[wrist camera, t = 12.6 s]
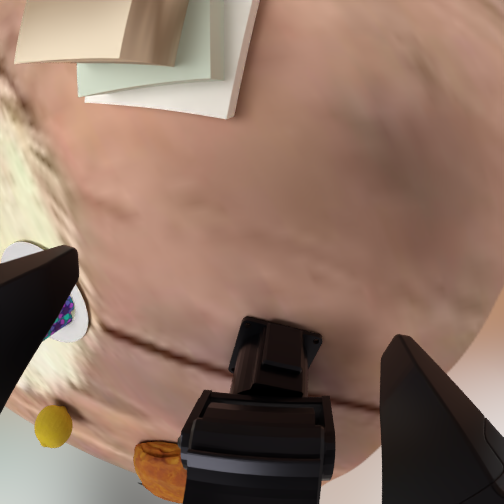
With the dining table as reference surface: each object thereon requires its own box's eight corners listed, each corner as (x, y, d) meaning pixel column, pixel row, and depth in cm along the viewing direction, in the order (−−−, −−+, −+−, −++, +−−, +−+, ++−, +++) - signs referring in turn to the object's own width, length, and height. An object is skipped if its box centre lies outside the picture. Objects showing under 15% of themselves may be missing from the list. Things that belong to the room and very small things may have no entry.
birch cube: (174, 67, 12) (118, 58, 8) (83, 63, 12) (13, 64, 8) (197, -30, 10) (156, -75, 5) (104, -25, 10) (42, -50, 5)
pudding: (92, 264, 25) (59, 300, 20) (93, 353, 31) (71, 388, 26) (0, 222, 24) (-35, 246, 20) (12, 310, 30) (-12, 337, 25)
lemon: (57, 410, 40) (36, 447, 33) (45, 390, 37) (20, 428, 30) (84, 422, 39) (64, 461, 32) (73, 402, 37) (50, 444, 30)
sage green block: (224, 80, 15) (210, 78, 12) (107, 93, 16) (78, 97, 13) (223, -35, 12) (210, -55, 9) (107, -11, 12) (80, -22, 10)
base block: (235, 115, 19) (226, 119, 16) (108, 99, 19) (84, 102, 16) (265, -16, 14) (260, -32, 12) (132, -20, 14) (111, -32, 12)
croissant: (239, 471, 44) (239, 513, 37) (150, 469, 44) (144, 508, 37) (223, 432, 37) (221, 486, 30) (116, 429, 38) (104, 476, 31)
